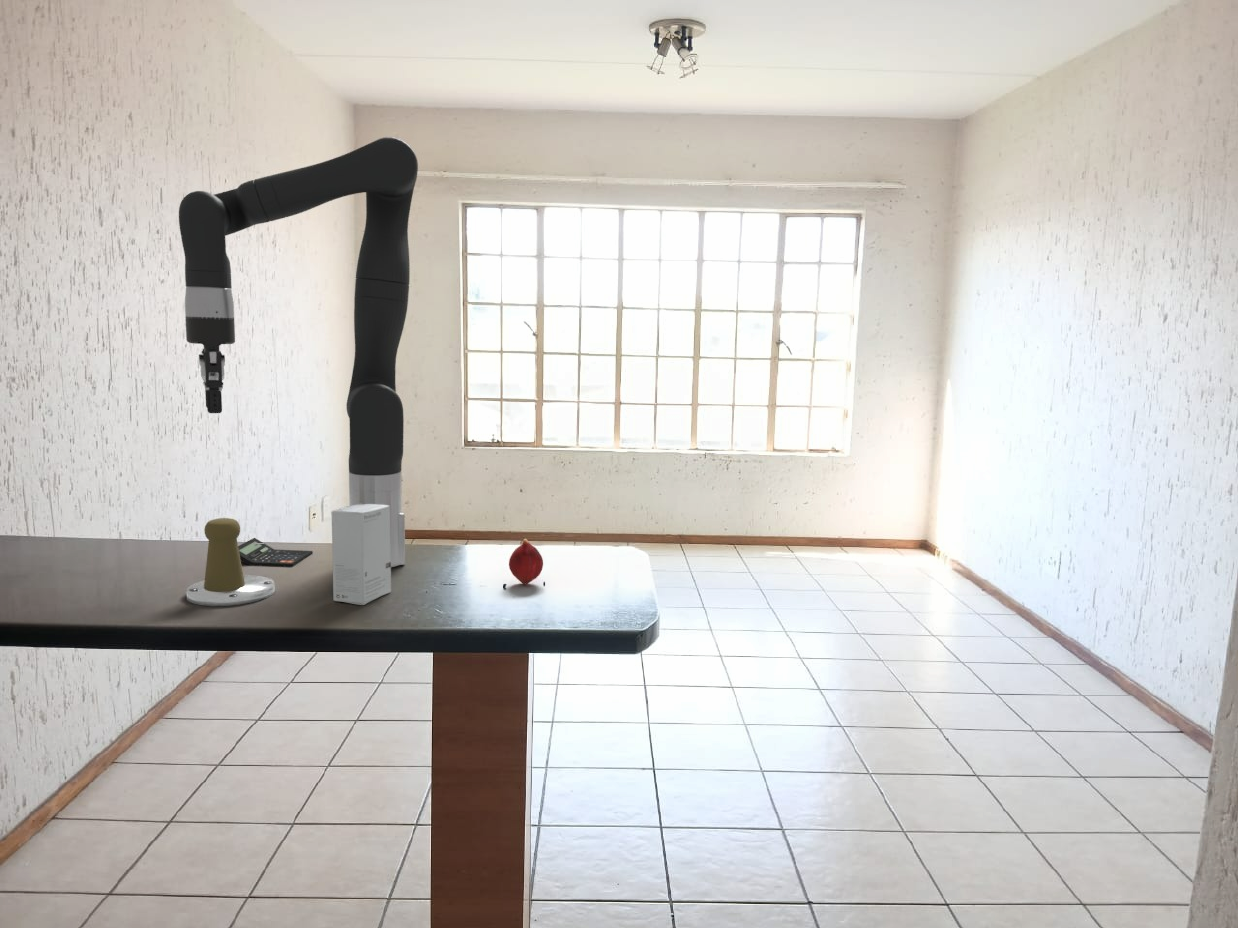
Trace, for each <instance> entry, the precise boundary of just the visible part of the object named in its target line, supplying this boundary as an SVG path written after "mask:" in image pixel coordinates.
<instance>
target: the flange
mask: <svg viewBox="0 0 1238 928" xmlns="http://www.w3.org/2000/svg"><path fill="white" fill-rule="evenodd" d="M243 576H244V582H245V585H244V586H243V587H241V588H239V589H235V590H230V591H208V590H206V589H204V581H205V579H204V580H200V581H196V582H194V583H192V584H191V585H189V586H188V587H187V588H186V591H185V592H186V595H185V596H186V600H187V601H188V602H189V603H191V604H195V605H198V606H205V607H207V606H208V607H229V606H230V607H233V606H239V605H240V606H241V605H246V604H251V603H254V602H255V603H256V602H259V601H262V600H264V599H267V598H269V597H270V596H272V595H274V593H275V591H276V588H275V587H276V586H275V585H276V584H275V581H274V580H273V579H271V578H270V577H266V576H261V575H252V574H243Z"/></svg>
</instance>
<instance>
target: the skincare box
mask: <svg viewBox="0 0 1238 928" xmlns="http://www.w3.org/2000/svg"><path fill="white" fill-rule="evenodd" d="M330 513H331V538H332V539H331V540H332V541H331V543H332V544H331V550H332V552H331V553H332V589H333V590H332V591H333V592H332V595H333V598H332V599H333V601H334V602H343V603H347V604H353V605H359V606H365V605H366V604H368V603H370V602H372V601H374V600H376V599H378V598H380V597H383V596H384V595H387V594H389V593H391V592H392V567H391V553H390V506H389V505H378V504H357V505H352V506H349V505H347V506H344V507H341V508H338V509H334V510H331V512H330Z"/></svg>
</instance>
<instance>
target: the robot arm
mask: <svg viewBox="0 0 1238 928" xmlns="http://www.w3.org/2000/svg"><path fill="white" fill-rule="evenodd" d="M418 172H419V163H418V158H417V155H416V153H415V151H414V150H413V148H412V147H411V146H410V145H409V144H408V142H406V141H404V140H402V139H399V138H397V137H393V136H385V137H381V138H378V139H376V140H374V141H372V142H370V143H368V144H367V143H366V144H365V145H363V146H361V147H359V148H356V149H355V150H352V151H350V152H348V153H345V154H342V155H340V156H337V157H333V158H332V159H329V160H326V161H322V162H319V163H316V164H312V165H308V166H304V167H300V168H295V169H291V170H288V171H287V170H286V171H284V172H283V171H282V172H279V173H276V174H271V175H267V176H263V177H259V178H255V179H250V180H247V181H245V182H243V183H241V184H240V185H239V186H238V187H237V188H233V189H230V190H226V191H222V192H219V193H215V194H212V193H211V192H207V191H203V190H194V191H192V192H190V193H188V194H186V195H185V196H184V197H183V198H182V199H181V202H180V204H179V208H178V225H179V226H178V227H179V231H180V236H181V242H182V248H183V253H184V278H185V297H184V314H185V315H184V317H185V318H184V319H185V337H186V342H187V343H188V344H193V345H195V344H198V345H203V348H202V350H201V354H200V353H198V363H199V366H200V376H201V379H202V381H203V382H202V383H203V386H204V390H205V392H204V393H205V407H206V408H207V410H206V411H207V412H208V413H209V414H221V413H222V412H223V402H222V399H223V398H222V391H223V389H224V382H223V380H225V366H226V357H225V354H223V353H222V352H221V351H220V346H222V345H233V344H234V343H235V342H236V332H235V331H236V330H235V327H236V326H235V306H234V305H235V304H234V303H235V302H234V298H233V290H232V289H233V288H232V269H231V262H230V259H229V256H228V254H227V247H226V244H227V243H226V236H229V235H231V234H235V233H237V232H238V233H239V232H240V231H242V230H245V229H249V228H251V227H253V226H255V225H260V224H261V225H262V224H266V223H271V222H273V221H277V220H282V219H285V218H289V217H291V216H295V215H298V214H302V213H305V212H307V211H309V210H312V209H314V208H317V207H320V206H321V205H324V204H326V203H328V202H332V201H335V200H337V199H340V198H343V197H348V196H352V195H357V194H363V193H365V197H366V198H365V202H366V203H365V206H366V207H365V208H366V209H365V211H366V214H365V226H364V230H363V237H362V241H361V244H360V248H359V254H358V260H357V263H356V264H357V265H356V271H355V285H354V286H355V287H354V299H353V301H354V302H353V303H354V305H353V306H354V312H353V313H354V315H353V330H354V359H353V368H352V372H351V373H352V374H351V381H350V385H349V391H348V395H347V400H346V412H347V413H346V414H347V417H348V418H349V419H348V420H349V454H348V491H349V492H348V493H349V495H348V496H349V500H348V501H349V503H348V504H349V505H348V506H352V505H357V504H378V505H389V506H390V553H391V568H396V567H398V566H401V565H402V566H404V565H406V540H405V539H406V534H405V533H406V530H405V529H406V519H405V518H406V516H405V513H404V512H403V508H402V507H403V505H402V503H403V501H402V499H403V498H402V497H403V495H402V491H403V490H402V489H403V487H402V465H403V464H402V463H403V456H404V424H405V423H404V419H405V418H404V408H403V407H404V406H403V402H402V400H401V398H400V396H399V395H398V393H397V388H396V365H397V364H396V363H397V354H398V349H399V346H400V341H401V338H402V336H403V331H404V328H405V327H404V326H405V323H406V317H407V311H408V305H409V292H410V274H411V273H410V270H411V269H410V268H411V267H410V251H409V250H410V248H409V246H410V245H409V234H408V233H409V232H408V231H409V218H410V212H411V211H410V210H411V206H412V200H413V195H414V190H415V186H416V182H417V177H418Z"/></svg>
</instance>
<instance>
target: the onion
mask: <svg viewBox="0 0 1238 928" xmlns="http://www.w3.org/2000/svg"><path fill="white" fill-rule="evenodd" d="M508 566H509V567H508V568H509V570H510V573H511V574H512V575H513V576H514V578H516V579H517V580H518V581H519V582H520V583H521V584H522V585H526V586H527V585H528V584H530V583H532V582H533V581H534V580H536V579H537V578H538V577H539V576H540V575H541V572H542V570H543V567H544V559H543V556H542V555H541V553H540V552H539V550H538V549H537V548H536V547H535V546H534V545H532V543H530V542H529V540H528V539H527V538H523V541H522V543H521V544H520V545H519V546H518V547H516V548H515V549H514V551H512V553H511V555H510V557H509V560H508Z"/></svg>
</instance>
